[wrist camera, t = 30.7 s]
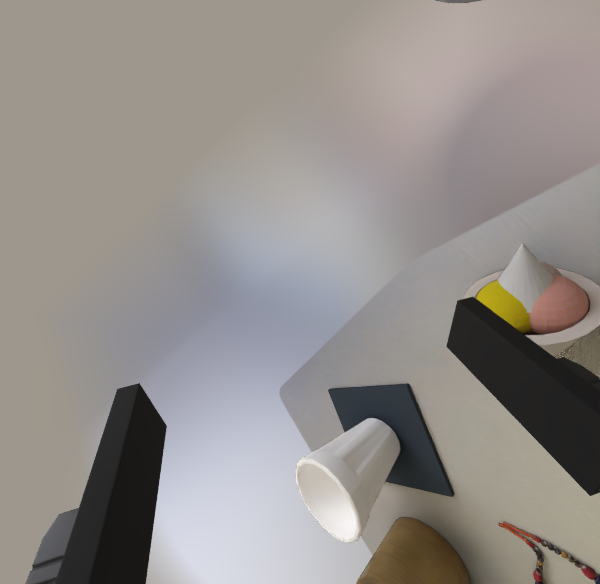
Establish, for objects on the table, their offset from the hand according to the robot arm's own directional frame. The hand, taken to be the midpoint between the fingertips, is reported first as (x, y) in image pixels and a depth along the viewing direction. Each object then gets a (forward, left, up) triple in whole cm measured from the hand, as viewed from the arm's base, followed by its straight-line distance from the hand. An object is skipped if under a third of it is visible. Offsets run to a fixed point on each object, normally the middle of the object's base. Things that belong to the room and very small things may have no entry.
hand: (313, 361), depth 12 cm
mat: (+20, -21, -25) cm, 38 cm away
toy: (+6, +3, -25) cm, 26 cm away
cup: (+20, -21, -25) cm, 38 cm away
